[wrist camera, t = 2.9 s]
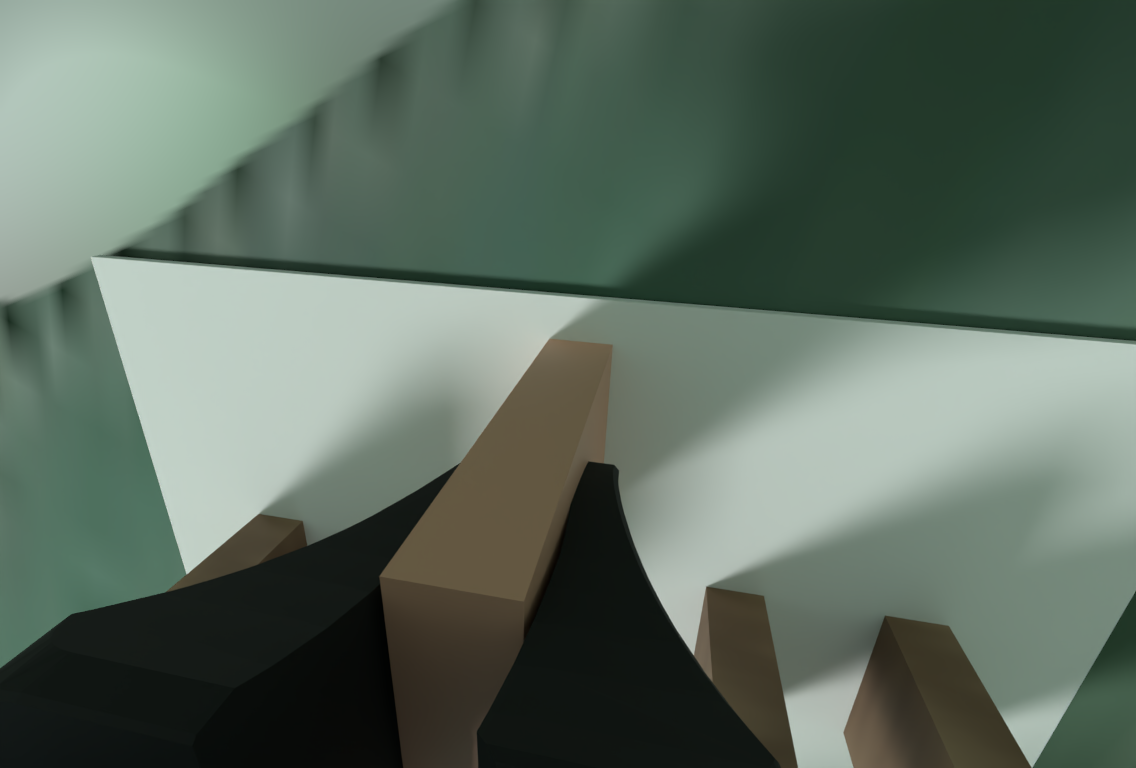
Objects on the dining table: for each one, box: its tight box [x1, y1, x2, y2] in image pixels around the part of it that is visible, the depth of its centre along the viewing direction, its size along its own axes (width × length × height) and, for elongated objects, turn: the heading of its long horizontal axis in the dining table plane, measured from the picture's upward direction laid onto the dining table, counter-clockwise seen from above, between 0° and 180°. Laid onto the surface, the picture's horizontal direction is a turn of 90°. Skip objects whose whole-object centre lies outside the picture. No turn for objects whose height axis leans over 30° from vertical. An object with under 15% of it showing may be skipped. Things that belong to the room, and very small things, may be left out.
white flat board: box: [91, 255, 1136, 768], centre depth 17 cm, size 28×21×1 cm
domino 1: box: [167, 514, 307, 592], centre depth 15 cm, size 2×5×8 cm, turn 177°
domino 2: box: [379, 339, 613, 768], centre depth 10 cm, size 2×5×8 cm, turn 178°
